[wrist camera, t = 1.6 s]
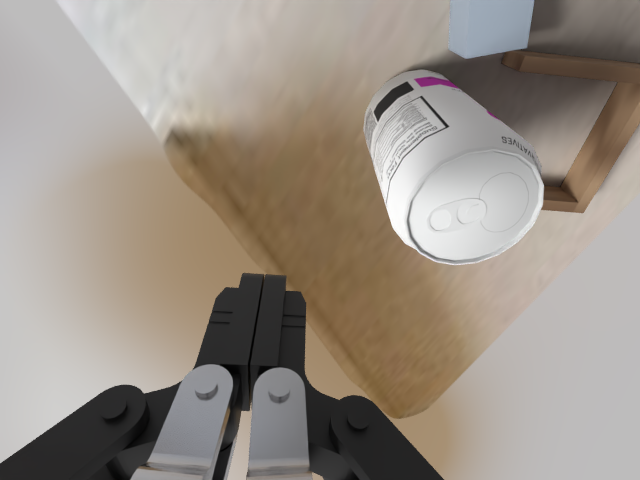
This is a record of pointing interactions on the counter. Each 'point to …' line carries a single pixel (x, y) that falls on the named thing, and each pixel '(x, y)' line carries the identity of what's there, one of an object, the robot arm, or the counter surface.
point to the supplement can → (450, 170)
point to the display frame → (608, 132)
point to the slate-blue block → (489, 26)
